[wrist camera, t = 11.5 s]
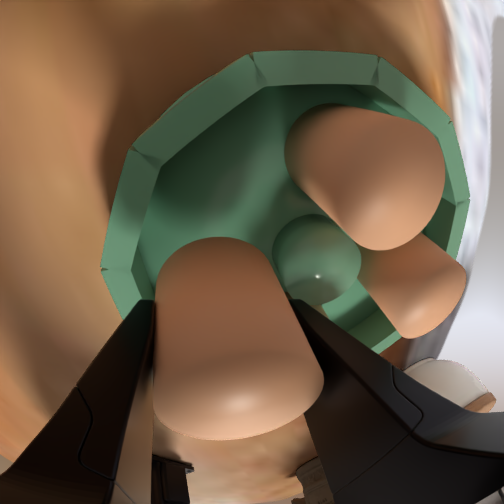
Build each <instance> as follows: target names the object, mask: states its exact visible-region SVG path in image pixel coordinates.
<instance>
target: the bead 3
mask: <svg viewBox="0 0 504 504" xmlns="http://www.w3.org/2000/svg"><path fill="white" fill-rule="evenodd" d="M355 244H356V245H357V247H358V248H359V251H360V254H361V268H360V271H359V274H358V276H357V279H358V281H359V282H360V283H361V284H362V286H363V287H364V288H365V289H366V291H367V292H368V293H369V294H370V296H371V297H372V298H373V300H374V301H375V302H376V303H377V305H378V306H379V307H380V309H381V310H382V311H383V312H384V314H385V315H386V316H387V318H388V319H389V320H390V322H391V323H392V324H393V326H394V327H395V328H396V330H397V331H398V332H399V334H400V335H401V336H402V337H404V338H416V337H420V336H422V335H424V334H426V333H428V332H430V331H431V330H433V329H434V328H436V327H437V326H438V325H439V324H440V323H442V322H443V321H444V320H445V319H446V318H447V317H448V315H449V314H450V313H451V312H452V310H453V309H454V308H455V306H456V305H457V303H458V302H459V300H460V298H461V296H462V293H463V291H464V288H465V284H466V271H465V269H464V268H463V266H461V265H460V264H459V263H458V262H457V261H456V260H455V259H453V258H452V257H451V256H450V255H449V254H447V253H446V252H445V251H444V250H443V249H441V248H440V247H439V246H438V245H437V244H435V243H434V242H433V241H432V240H430V239H429V238H428V237H427V236H425V235H424V234H423V233H422V232H420V233H418V234H417V235H416V236H415V237H414V238H412V239H411V240H410V241H408V242H407V243H405V244H403V245H401V246H399V247H396V248H393V249H389V250H371V249H368V248H365V247H363V246H361V245H359V244H358V243H356V242H355Z"/></svg>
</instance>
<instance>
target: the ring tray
mask: <svg viewBox="0 0 504 504" xmlns="http://www.w3.org/2000/svg"><path fill="white" fill-rule="evenodd" d="M325 103H337V104H342V105H348V106H353V107H358V108H362V109H367V110H372V111H376V112H380V113H384V114H388V115H392V116H396V117H400V118H404V119H407V120H411V121H414V122H417V123H419V124H421V125H423V126H424V127H425V128H427V129H428V130H429V131H430V132H431V133H432V134H433V135H434V137H435V138H436V140H437V141H438V143H439V145H440V148H441V150H442V153H443V157H444V162H445V184H444V189H443V193H442V197H441V200H440V202H439V205H438V207H437V209H436V211H435V213H434V215H433V216H432V218H431V220H430V221H429V222H428V224H427V225H426V226H425V227H424V228H423V230H422V231H421V232H422V233H423V234H424V235H425V236H427V237H428V238H429V239H430V240H432V241H433V242H434V243H435V244H437V245H438V246H439V247H440V248H441V249H443V250H444V251H445V252H446V253H447V254H449V255H450V256H451V257H452V258H453V259H455V260H456V257H457V254H458V250H459V246H460V243H461V239H462V235H463V231H464V226H465V222H466V217H467V213H468V208H469V203H470V199H468V198H469V197H470V193H469V187H468V182H467V177H466V173H465V168H464V164H463V159H462V155H461V151H460V147H459V143H458V140H457V136H456V133H455V129H454V126H453V123H452V121H450V117H449V116H448V115H447V114H446V113H445V112H444V111H443V110H442V109H441V108H440V107H439V106H438V105H437V104H436V103H435V102H434V101H433V100H432V99H431V98H429V97H428V96H427V95H426V94H425V93H424V92H423V91H422V90H421V89H420V88H419V87H417V86H416V85H415V84H414V83H413V82H412V81H411V80H409V79H408V78H407V77H406V76H405V75H404V74H402V73H401V72H400V71H399V70H397V69H396V68H395V67H394V66H392V65H391V64H390V63H389V62H387V61H386V60H385V59H384V58H382V57H377V55H371V54H362V53H351V52H336V51H309V50H288V51H261V52H252V53H250V54H246V55H244V56H243V57H241V58H239V59H237V60H235V61H234V62H232V63H231V64H229V65H228V66H226V67H225V68H224V69H222V70H221V71H219V72H218V73H216V74H214V75H212V76H210V77H208V78H207V79H205V80H204V81H202V82H201V83H199V84H198V85H196V86H195V87H193V88H192V89H190V90H189V91H187V92H186V93H184V94H183V95H182V96H181V97H180V98H179V99H178V100H177V101H176V102H174V103H173V104H172V105H171V106H170V107H169V108H168V109H167V110H166V111H165V112H164V113H163V114H162V115H161V116H160V117H159V119H158V120H157V121H155V122H154V123H153V124H152V125H151V126H150V127H149V128H147V129H146V130H145V131H144V132H143V133H142V134H141V135H140V136H139V137H138V138H137V139H136V140H135V141H134V143H133V144H132V146H131V147H130V148H129V149H128V152H127V155H126V159H125V162H124V165H123V169H122V172H121V176H120V180H119V183H118V187H117V191H116V195H115V199H114V203H113V207H112V211H111V215H110V220H109V224H108V229H107V234H106V238H105V243H104V249H103V254H102V259H101V265H100V267H102V269H101V273H102V275H103V278H104V280H105V282H106V285H107V287H108V289H109V291H110V294H111V296H112V298H113V300H114V302H115V304H116V307H117V309H118V311H119V313H120V315H121V317H122V319H123V320H124V319H125V317H126V316H127V315H128V313H129V312H130V311H131V309H132V308H133V307H134V306H135V304H136V303H137V302H138V301H139V300H140V299H153V300H154V301H155V293H156V281H157V277H158V274H159V272H160V269H161V268H162V266H163V264H164V263H165V261H166V260H167V259H168V258H169V257H170V256H171V255H172V254H173V253H174V252H175V251H177V250H178V249H180V248H181V247H183V246H185V245H186V244H188V243H191V242H193V241H196V240H199V239H203V238H208V237H231V238H236V239H240V240H243V241H245V242H248V243H249V244H251V245H253V246H255V247H256V248H257V249H259V250H260V251H261V252H262V253H263V254H264V255H265V256H266V258H267V259H268V260H269V262H270V264H271V266H272V268H273V270H274V272H275V274H276V276H277V278H278V280H279V283H280V285H281V287H282V289H283V291H284V292H288V293H289V294H290V296H291V297H292V298H293V299H301V300H303V301H304V302H306V303H307V304H309V305H320V304H321V306H322V308H323V309H324V311H325V313H326V314H327V316H328V318H329V319H330V320H331V321H332V322H334V323H335V324H336V325H338V326H339V327H341V328H342V329H343V330H345V331H346V332H348V333H349V334H350V335H352V336H353V337H355V338H356V339H357V340H359V341H360V342H362V343H363V344H365V345H366V346H367V347H369V348H370V349H372V350H373V351H374V352H376V353H377V354H379V353H381V352H382V351H384V350H385V349H386V348H388V347H389V346H390V345H392V344H393V343H395V342H396V341H397V340H399V339H400V338H401V337H402V336H401V335H400V334H399V332H398V331H397V330H396V328H395V327H394V326H393V324H392V323H391V322H390V320H389V319H388V318H387V316H386V315H385V314H384V312H383V311H382V310H381V309H380V307H379V306H378V305H377V303H376V302H375V301H374V300H373V298H372V297H371V296H370V294H369V293H368V292H367V291H366V289H365V288H364V287H363V286H362V284H361V283H360V282H359V281H358V279H357V276H358V274H359V271H360V268H361V254H360V251H359V248H358V247H357V245H356V244H355V241H354V240H353V239H352V238H351V237H350V236H349V235H348V234H347V233H346V232H345V231H344V230H343V229H342V228H341V227H340V226H339V225H338V224H337V223H336V222H335V221H334V220H333V219H332V218H331V217H330V216H329V215H328V214H327V213H326V212H325V211H324V210H323V209H321V208H320V207H319V206H318V205H317V204H316V203H315V202H314V201H313V200H312V199H311V198H310V197H309V196H308V195H307V194H306V193H305V192H304V191H302V190H301V189H300V188H299V187H298V186H297V185H296V184H295V183H294V181H293V180H292V178H291V177H290V175H289V173H288V170H287V168H286V164H285V157H284V149H285V142H286V138H287V135H288V133H289V130H290V129H291V127H292V125H293V124H294V122H295V121H296V120H297V119H298V118H299V116H300V115H302V114H303V113H304V112H305V111H307V110H308V109H310V108H312V107H314V106H317V105H320V104H325Z"/></svg>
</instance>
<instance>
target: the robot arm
mask: <svg viewBox="0 0 504 504" xmlns="http://www.w3.org/2000/svg"><path fill="white" fill-rule="evenodd" d="M288 301H289V303H290V305H291V307H292V309H293V311H294V313H295V316H296V318H297V320H298V322H299V324H300V326H301V328H302V330H303V332H304V334H305V336H306V338H307V341H308V343H309V345H310V347H311V349H312V351H313V353H314V355H315V357H316V359H317V361H318V364H319V366H320V368H321V370H322V372H323V376H324V385H323V389H322V391H321V393H320V395H319V397H318V398H317V400H316V401H315V402H314V403H313V405H312V406H311V407H310V408H309V409H307V410H306V411H305V412H304V416H305V419H306V422H307V425H308V428H309V431H310V434H311V436H312V439H313V442H314V445H315V448H316V451H317V454H318V456H319V459H320V462H321V465H322V468H323V471H324V474H325V476H326V479H327V482H328V485H329V488H330V491H331V494H333V495H332V497H333V500H334V503H335V504H504V412H492V413H479V412H473V411H470V410H467V409H465V408H463V407H461V406H459V405H457V404H455V403H454V402H452V401H450V400H448V399H447V398H445V397H443V396H441V395H440V394H438V393H436V392H434V391H433V390H431V389H429V388H428V387H426V386H424V385H423V384H421V383H419V382H418V381H416V380H415V379H413V378H412V377H410V376H409V375H407V374H406V373H404V372H403V371H401V370H400V369H398V368H397V367H396V366H394V365H391V363H390V362H388V361H387V360H386V359H384V358H383V357H381V356H380V355H379V354H377V353H376V352H374V351H373V350H372V349H370V348H369V347H367V346H366V345H365V344H363V343H362V342H360V341H359V340H357V339H356V338H355V337H353V336H352V335H350V334H349V333H348V332H346V331H345V330H343V329H342V328H341V327H339V326H338V325H336V324H335V323H334V322H332V321H331V320H330V319H328V318H327V317H325V316H324V315H323V314H321V313H320V312H318V311H317V310H316V309H314V308H313V307H311V306H310V305H309V304H307V303H306V302H304V301H303V300H301V299H288ZM154 321H155V301H154V300H153V299H140V300H139V301H138V302H137V303H136V304H135V306H134V307H133V308H132V309H131V311H130V312H129V313H128V315H127V316H126V317H125V319H124V320H123V321H122V322H121V324H120V325H119V326H118V328H117V329H116V330H115V332H114V333H113V334H112V336H111V337H110V338H109V340H108V341H107V342H106V344H105V345H104V346H103V348H102V349H101V350H100V352H99V353H98V355H97V356H96V357H95V359H94V360H93V361H92V363H91V364H90V366H89V367H88V368H87V370H86V371H85V373H84V374H83V375H82V377H81V378H80V380H79V381H78V382H77V384H76V386H77V387H74V388H73V389H72V391H71V392H70V394H69V395H68V397H67V398H66V399H65V401H64V402H63V404H62V405H61V406H60V408H59V409H58V410H57V412H56V413H55V414H54V416H53V417H52V418H51V419H50V420H49V422H48V423H47V424H46V425H45V427H44V428H43V429H42V430H41V431H40V432H39V434H38V435H37V436H36V437H35V438H34V439H33V441H32V442H31V443H30V444H29V445H28V446H27V448H26V449H25V450H24V451H23V452H22V454H21V455H20V456H19V457H18V458H17V460H16V461H15V462H14V463H13V464H12V465H11V466H10V467H9V468H8V469H7V470H6V471H5V472H3V473H2V474H1V475H0V504H190V499H189V492H188V486H187V479H186V474H188V473H191V472H194V467H192V466H188V465H184V464H180V463H176V462H173V461H169V460H166V459H163V458H159V457H156V456H153V455H152V441H153V424H154V409H153V347H154Z"/></svg>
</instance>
